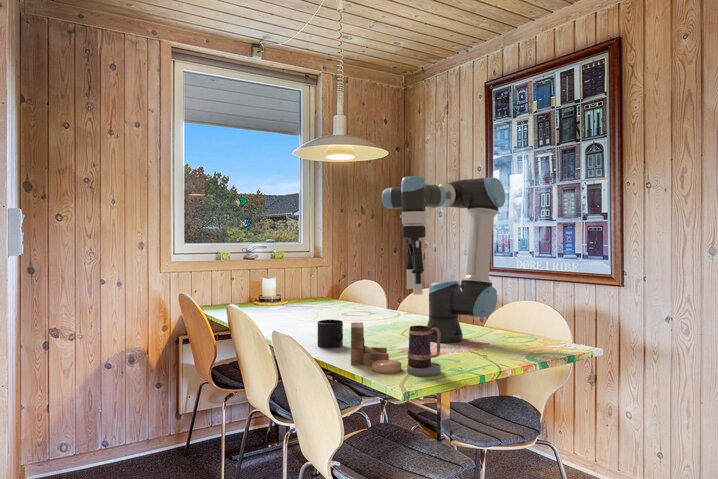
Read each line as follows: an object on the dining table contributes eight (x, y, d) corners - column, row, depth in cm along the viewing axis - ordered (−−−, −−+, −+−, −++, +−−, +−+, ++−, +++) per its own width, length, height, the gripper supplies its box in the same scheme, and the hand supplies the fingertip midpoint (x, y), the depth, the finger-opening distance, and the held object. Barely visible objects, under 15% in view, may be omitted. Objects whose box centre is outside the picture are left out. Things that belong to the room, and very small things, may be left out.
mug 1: (332, 350, 179) (332, 325, 179) (312, 345, 188) (312, 321, 188) (352, 347, 185) (352, 322, 185) (332, 341, 194) (332, 318, 194)
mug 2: (403, 366, 150) (403, 326, 150) (414, 361, 156) (414, 323, 156) (435, 371, 145) (435, 330, 145) (444, 366, 151) (444, 326, 151)
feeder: (386, 358, 168) (386, 322, 168) (388, 365, 159) (388, 327, 159) (350, 358, 168) (351, 322, 168) (350, 365, 159) (351, 327, 159)
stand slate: (437, 367, 156) (437, 361, 156) (443, 376, 146) (443, 370, 146) (405, 367, 156) (405, 361, 156) (409, 376, 146) (409, 370, 146)
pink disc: (399, 365, 159) (399, 359, 159) (402, 373, 150) (402, 366, 150) (371, 365, 158) (371, 359, 158) (372, 373, 149) (372, 366, 149)
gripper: (396, 225, 172) (397, 287, 173) (407, 225, 147) (408, 297, 148) (418, 225, 172) (419, 286, 173) (432, 225, 148) (433, 296, 148)
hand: (414, 291), depth 160 cm, fingers open, 13 cm apart
